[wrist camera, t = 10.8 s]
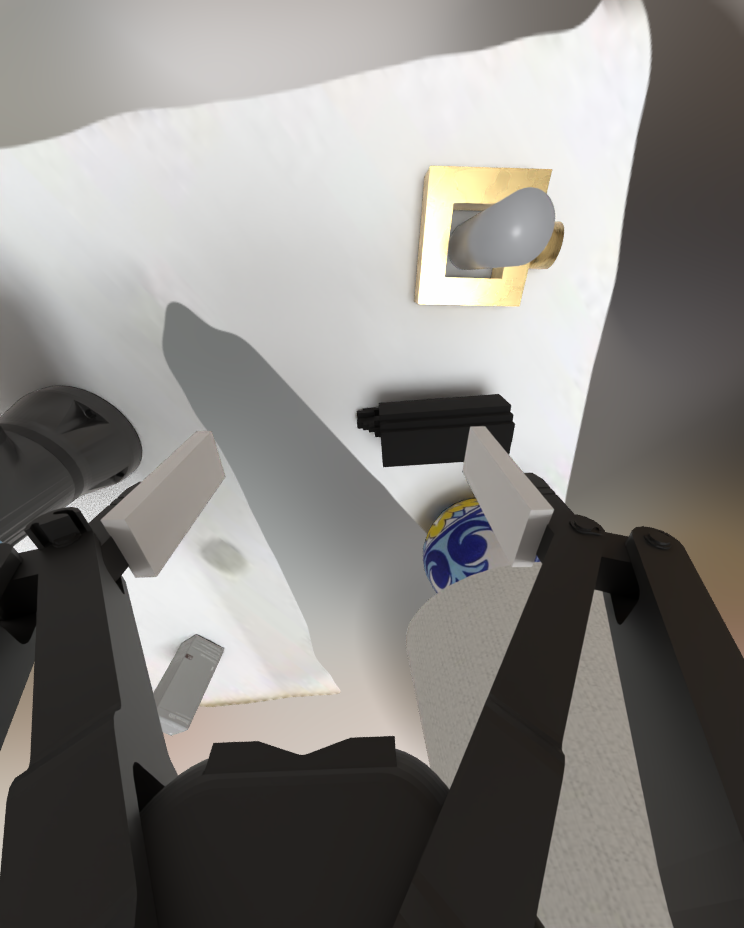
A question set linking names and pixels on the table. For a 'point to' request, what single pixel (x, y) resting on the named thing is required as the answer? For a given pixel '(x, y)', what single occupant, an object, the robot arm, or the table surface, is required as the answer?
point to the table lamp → (585, 738)
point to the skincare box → (185, 683)
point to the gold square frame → (440, 198)
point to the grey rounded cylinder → (504, 232)
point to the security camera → (435, 427)
